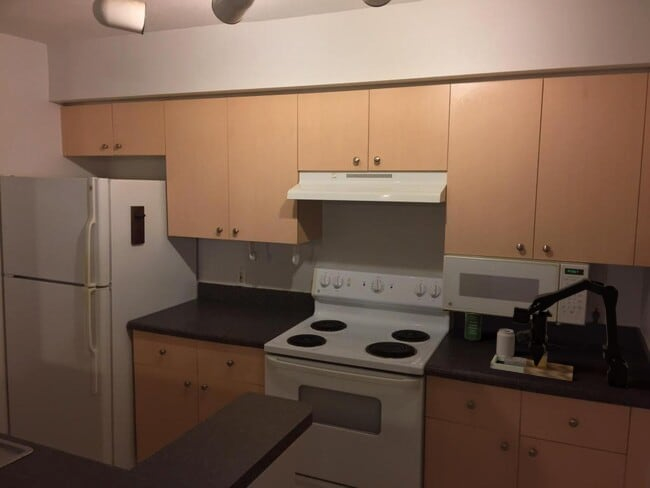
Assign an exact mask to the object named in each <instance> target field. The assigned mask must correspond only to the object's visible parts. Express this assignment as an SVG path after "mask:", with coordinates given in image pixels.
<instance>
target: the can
mask: <svg viewBox="0 0 650 488" xmlns="http://www.w3.org/2000/svg"><path fill="white" fill-rule="evenodd" d="M515 341H516V334H515V333H514V330H513V329H509V328H499V329H498V331H497V334H496V353H495V354H496V355H502V356H511V357H514V356H515Z"/></svg>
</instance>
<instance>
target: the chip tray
mask: <svg viewBox="0 0 650 488" xmlns="http://www.w3.org/2000/svg"><path fill="white" fill-rule="evenodd" d="M504 358H505V356H502V355H498V354H497V353H495V354H494V357H493V358H492V360H491V362H490V369H495V370H502V371H508V372H514V373H520V374H524V373H523V372H524V368H523V367H517V366H511V365H504V363H499V362H498V363H497V361H500V362H501V361H502V362H504ZM527 359H528V358H526V360H527ZM525 365H526V361H525Z"/></svg>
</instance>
